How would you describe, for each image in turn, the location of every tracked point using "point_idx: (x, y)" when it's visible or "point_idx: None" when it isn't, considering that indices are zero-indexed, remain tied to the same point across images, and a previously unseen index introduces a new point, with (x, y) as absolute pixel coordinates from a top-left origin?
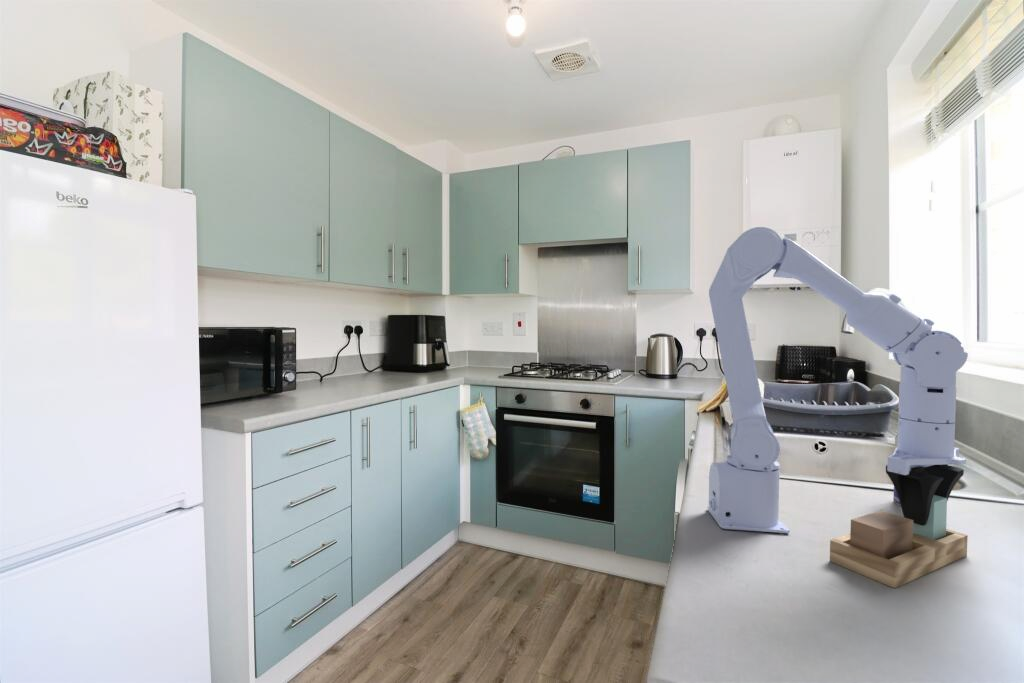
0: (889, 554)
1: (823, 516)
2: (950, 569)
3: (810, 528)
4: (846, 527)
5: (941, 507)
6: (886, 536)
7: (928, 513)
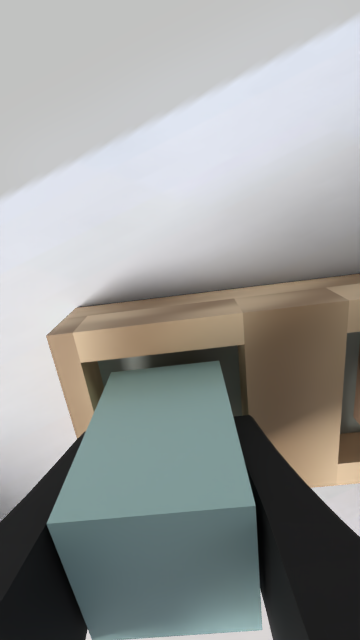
0: None
1: None
2: (247, 267)
3: None
4: None
5: (139, 467)
6: None
7: (250, 451)
